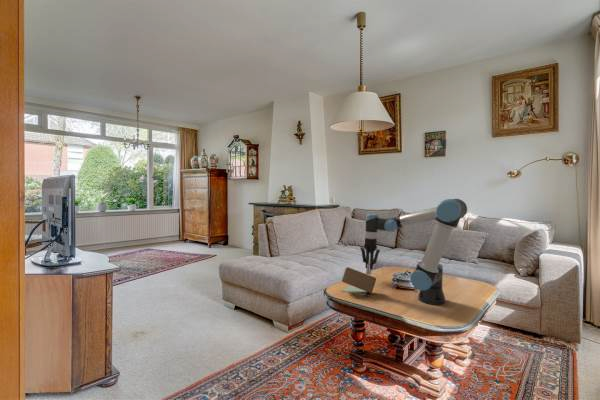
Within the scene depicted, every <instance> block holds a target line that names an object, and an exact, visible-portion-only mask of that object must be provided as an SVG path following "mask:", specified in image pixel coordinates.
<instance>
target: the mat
mask: <svg viewBox="0 0 600 400" xmlns="http://www.w3.org/2000/svg"><path fill="white" fill-rule="evenodd" d="M341 292H346V293H350V294H354V295H361V296H365V295H366V294H368V293H369V292H367V291H364V290H362V289H359V288H357V287H354V286H352V285H349V284H348V286H345V287H344V288H342V289H341Z"/></svg>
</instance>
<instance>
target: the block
mask: <svg viewBox="0 0 600 400" xmlns="http://www.w3.org/2000/svg"><path fill="white" fill-rule="evenodd" d="M341 282H342V283H344V284H347V285H348V286H349V285H352V286H354V287H357V288H359V289H362V290H364V291H367V292H368V293H370V294H372V292H373V290H374V288H375V284H376V282H377V277H375V276H372V275H371V274H370V275H369V274H366V273H364V272H362V271H359V270H356V269H354V268H351V267H345V270H344V273H343V276H342V279H341Z"/></svg>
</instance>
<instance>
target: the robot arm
mask: <svg viewBox="0 0 600 400" xmlns="http://www.w3.org/2000/svg"><path fill="white" fill-rule="evenodd" d="M467 212H468V206H467V204H466V202H464V200H461V199H460V198H447V199H445V200H442V201H440V202H439V203H438V205H436V207H431V208H427V209H422V210H420V211H414V212H411V213H407V214H403V215H398V216H394V217H389V218H381V217H379V214H376V213H367V214H366V217H365V232H364V245H363V246H360V251H361V257H362V263H365V269H366V273H365V274H367V275H370V276H371V274H372V270H373V269H374V265H376V264H377V261H378V258H379V254H380V252H381V249H379V248H378V246H377V243H378V241H377V240H378V239H377V238H378V231H383V232H384V231H385V232H388V233H389V232H390V233H394V232H395V231H396V230H397V229H402V228H407V227H411V226H416V225H420V224H425V223H430V222H433V221H434V222H435V223H436V224H435V226H434V228H433V231H432V234H431V235H430V238H429V241H428V244H427V246H426V249H425V252H424V254H423V257H422V259H421V261H418V262H417V265H416V267H415V269H414V271H412V273H411V274H410V277H409V279H410V283H411V284H412V286H413V287H414V288H415V289H417V290H419V292H418V296H417V298H418V300H419V301H420V302H422V303H424V304H428V305H436V306H437V305H444V304H446V297H445V293H444V290H443V274H444V273H443V271H444V269H443V265H442V264H441V263H440V261H441V259H442V256H443V253H444V251H445V249H446V247H447V245H448V244H447V243H448V242H449V239H450V236H451V234H452V232H453V230H454V229H455V228H457V227H458V225H459V222H460V220H461V219H462V218H464V217H465V216H466V215H467Z"/></svg>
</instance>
